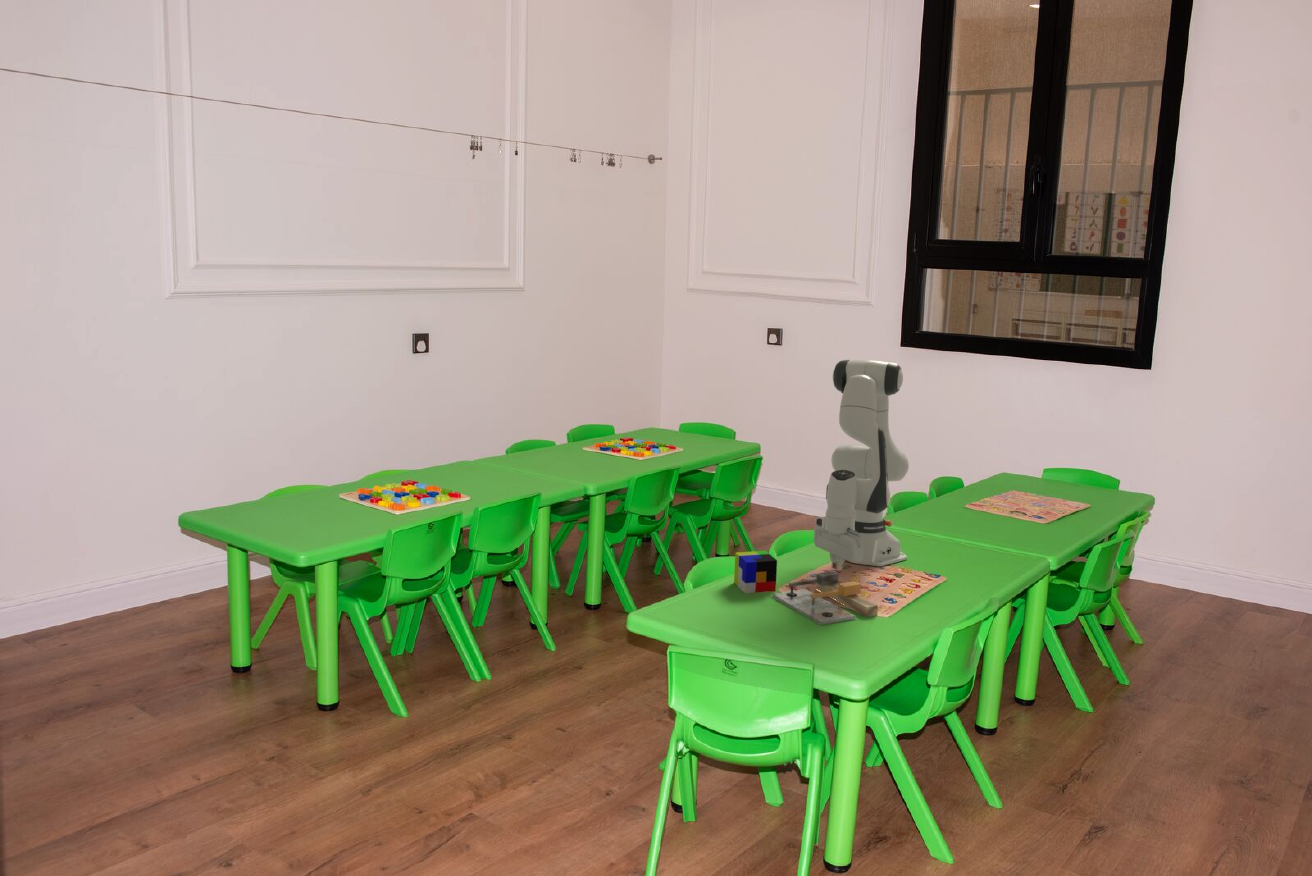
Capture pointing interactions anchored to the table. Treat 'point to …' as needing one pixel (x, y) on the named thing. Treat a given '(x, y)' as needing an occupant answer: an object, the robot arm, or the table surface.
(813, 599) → the sliding leg
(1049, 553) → the table surface
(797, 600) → the bolt plate
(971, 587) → the table surface
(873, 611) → the dividers rail
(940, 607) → the table surface
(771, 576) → the puzzle toy
